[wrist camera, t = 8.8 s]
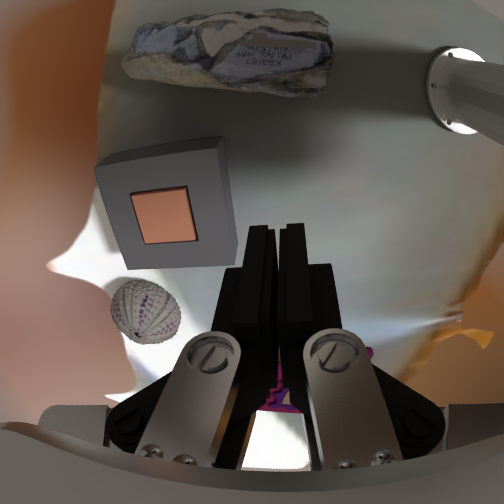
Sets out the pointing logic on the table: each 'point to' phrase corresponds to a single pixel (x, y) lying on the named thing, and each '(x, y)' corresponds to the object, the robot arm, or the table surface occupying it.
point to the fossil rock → (236, 52)
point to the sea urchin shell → (145, 312)
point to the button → (165, 214)
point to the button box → (164, 176)
